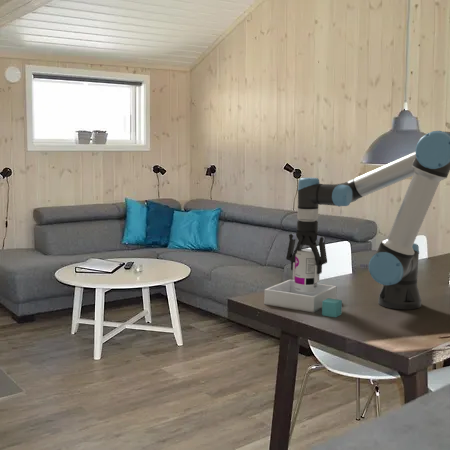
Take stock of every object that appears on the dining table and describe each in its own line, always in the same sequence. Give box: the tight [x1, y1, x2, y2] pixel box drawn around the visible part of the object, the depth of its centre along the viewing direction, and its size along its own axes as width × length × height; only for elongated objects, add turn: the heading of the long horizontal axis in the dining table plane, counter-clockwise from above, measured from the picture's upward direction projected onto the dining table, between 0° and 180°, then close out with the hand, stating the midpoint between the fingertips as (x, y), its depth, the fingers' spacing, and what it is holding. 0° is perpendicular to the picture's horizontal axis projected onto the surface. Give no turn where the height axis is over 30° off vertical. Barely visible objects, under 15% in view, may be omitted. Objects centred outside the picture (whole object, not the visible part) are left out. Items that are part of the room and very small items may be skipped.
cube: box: [321, 298, 343, 318], centre depth 216 cm, size 5×5×5 cm
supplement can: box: [295, 248, 318, 293], centre depth 234 cm, size 8×8×15 cm
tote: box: [263, 279, 338, 313], centre depth 232 cm, size 20×20×6 cm
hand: (305, 280), depth 235 cm, fingers closed on supplement can, 8 cm apart
